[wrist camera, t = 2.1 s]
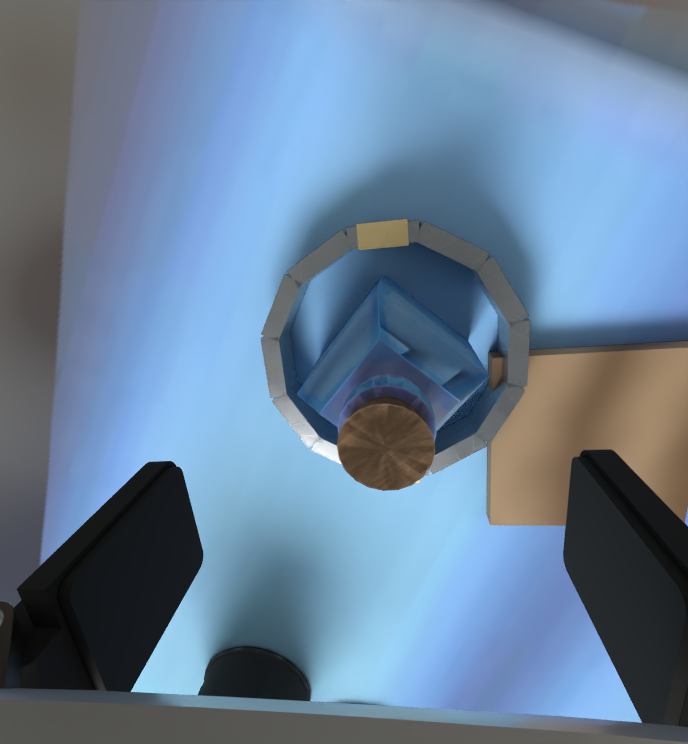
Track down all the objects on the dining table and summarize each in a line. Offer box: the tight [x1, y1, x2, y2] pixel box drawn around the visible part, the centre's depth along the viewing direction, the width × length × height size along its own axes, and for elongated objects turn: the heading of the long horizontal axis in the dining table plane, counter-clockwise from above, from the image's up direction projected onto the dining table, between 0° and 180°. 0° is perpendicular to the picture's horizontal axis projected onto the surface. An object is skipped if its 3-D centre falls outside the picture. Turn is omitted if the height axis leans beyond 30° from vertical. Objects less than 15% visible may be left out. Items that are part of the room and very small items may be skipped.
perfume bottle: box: [297, 275, 490, 491], centre depth 19 cm, size 6×6×12 cm
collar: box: [261, 219, 530, 483], centre depth 23 cm, size 14×14×3 cm
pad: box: [487, 341, 688, 525], centre depth 24 cm, size 11×11×1 cm
